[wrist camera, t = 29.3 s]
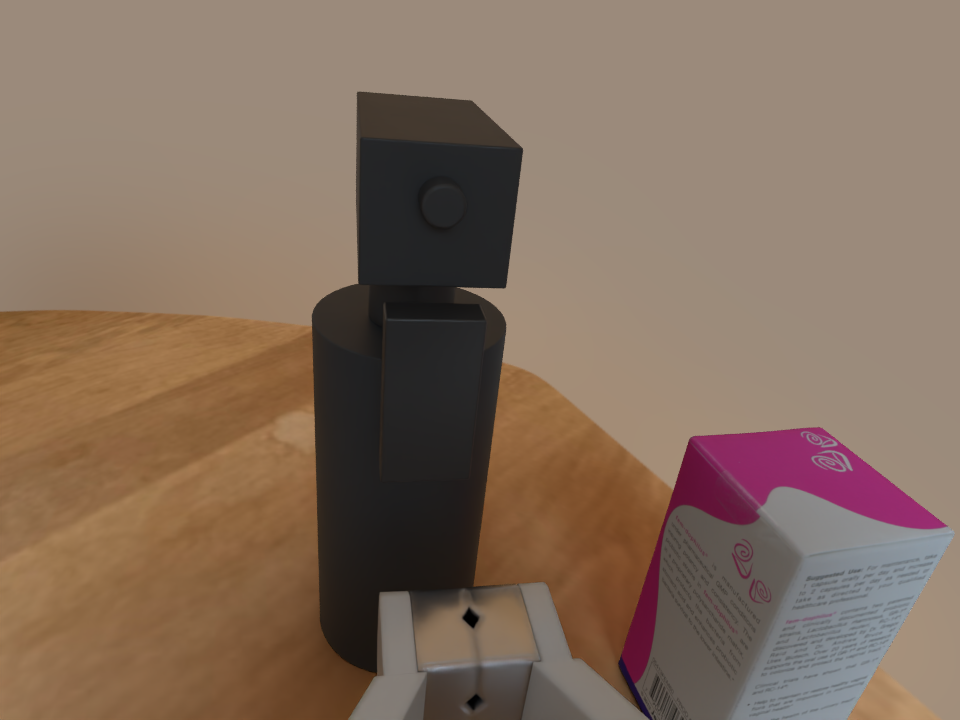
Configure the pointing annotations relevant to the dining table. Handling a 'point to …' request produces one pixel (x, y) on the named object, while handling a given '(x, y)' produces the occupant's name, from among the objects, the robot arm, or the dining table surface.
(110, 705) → the dining table surface
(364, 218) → the spray bottle
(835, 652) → the supplement box
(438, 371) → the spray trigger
